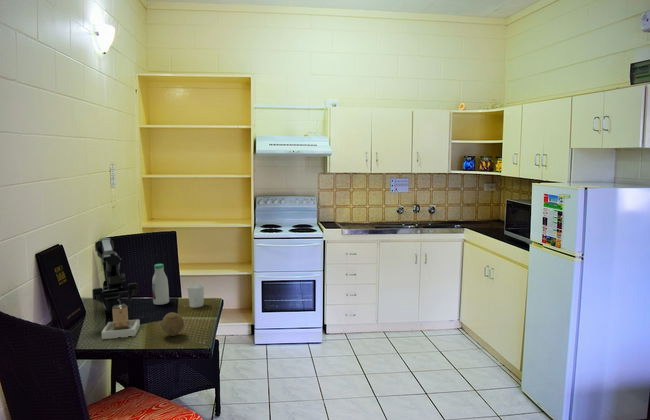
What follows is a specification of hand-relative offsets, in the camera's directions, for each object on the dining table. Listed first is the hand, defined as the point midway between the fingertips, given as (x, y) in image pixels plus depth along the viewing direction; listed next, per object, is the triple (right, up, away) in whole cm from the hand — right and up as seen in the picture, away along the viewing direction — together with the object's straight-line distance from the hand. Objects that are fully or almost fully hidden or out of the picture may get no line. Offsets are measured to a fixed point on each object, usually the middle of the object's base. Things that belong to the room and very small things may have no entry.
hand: (118, 307), depth 220 cm
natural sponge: (+27, -10, -11) cm, 31 cm away
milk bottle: (+7, -5, +36) cm, 37 cm away
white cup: (+27, -5, +30) cm, 41 cm away
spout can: (+4, -8, -5) cm, 11 cm away
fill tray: (+4, -10, -5) cm, 12 cm away
